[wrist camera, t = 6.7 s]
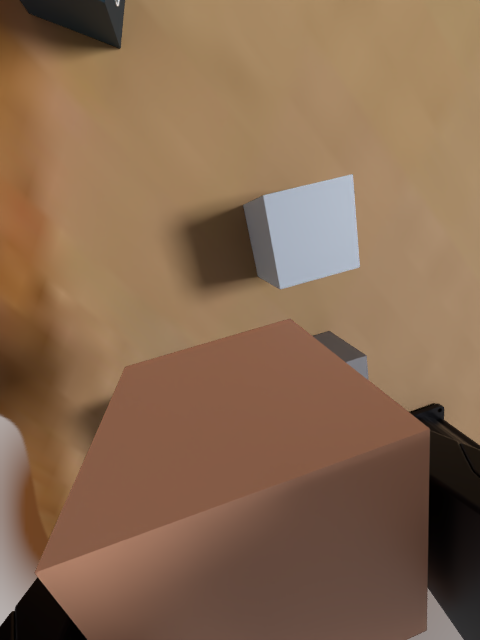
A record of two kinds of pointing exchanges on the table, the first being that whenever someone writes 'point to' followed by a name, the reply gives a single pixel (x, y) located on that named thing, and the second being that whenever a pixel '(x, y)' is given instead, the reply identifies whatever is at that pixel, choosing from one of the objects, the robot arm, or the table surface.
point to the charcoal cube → (344, 352)
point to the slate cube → (304, 232)
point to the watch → (83, 16)
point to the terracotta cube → (247, 501)
